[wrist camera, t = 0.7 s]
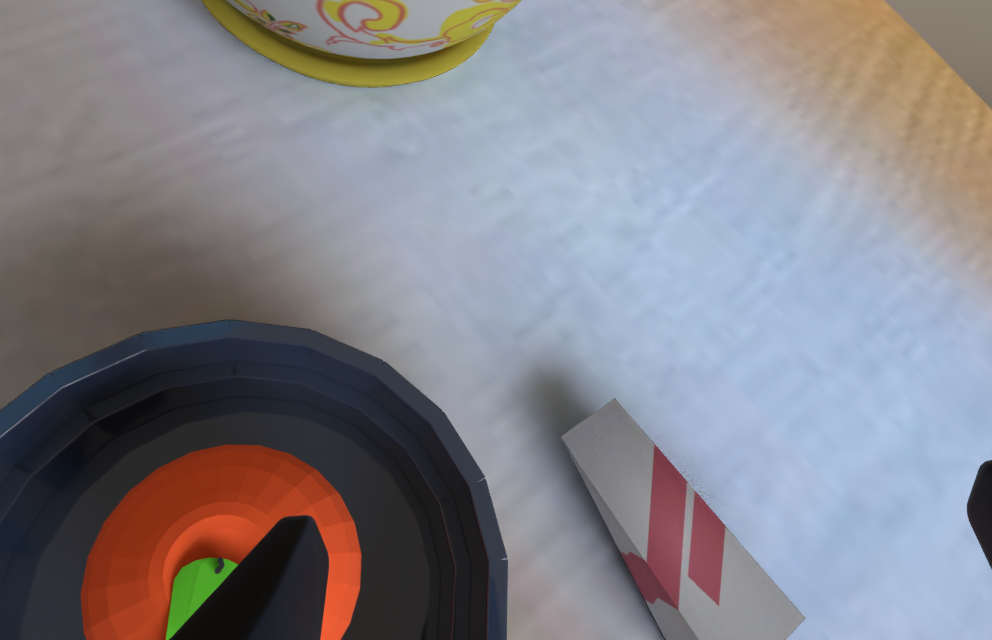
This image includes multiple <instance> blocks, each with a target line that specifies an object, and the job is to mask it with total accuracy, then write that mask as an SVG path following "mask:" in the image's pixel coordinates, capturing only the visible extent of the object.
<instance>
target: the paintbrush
mask: <svg viewBox="0 0 992 640" xmlns="http://www.w3.org/2000/svg"><path fill="white" fill-rule="evenodd" d="M561 438H562V440H563V442H564V444H565V446H566V448H567V450H568V452H569V454H570V455H571V457H572V459H573V461H574V463H575V465H576V467H577V469H578V471H579V473H580V475H581V477H582V479H583V481H584V483H585V485H586V487H587V488H588V490H589V492H590V494H591V496H592V498H593V500H594V502H595V504H596V506H597V508H598V510H599V512H600V514H601V516H602V518H603V519H604V521H605V523H606V525H607V527H608V529H609V531H610V533H611V535H612V537H613V539H614V541H615V543H616V545H617V547H618V549H619V551H620V552H621V554H622V556H623V558H624V560H625V562H626V564H627V566H628V568H629V570H630V572H631V574H632V576H633V578H634V580H635V582H636V583H637V585H638V587H639V589H640V591H641V593H642V595H643V597H644V599H645V601H646V603H647V605H648V607H649V609H650V611H651V613H652V615H653V616H654V618H655V620H656V622H657V624H658V626H659V628H660V630H661V632H662V634H663V636H664V638H665V640H786V639H787V638H788V637H789V636H790V635H791V634H792V633H793V631H794V630H795V629H796V628H797V627H798V626H799V625H800V624H801V623H802V622H803V620H804V619H805V617H804V616H803V615H802V614H801V613H800V611H799V610H798V609H797V608H796V607H795V606H794V604H793V603H792V602H791V601H790V600H789V599H788V598H787V596H786V595H785V594H784V593H783V592H782V591H781V589H780V588H779V587H778V586H777V585H776V584H775V583H774V581H773V580H772V579H771V578H770V577H769V576H768V574H767V573H766V572H765V571H764V570H763V569H762V568H761V566H760V565H759V564H758V563H757V562H756V561H755V559H754V558H753V557H752V556H751V555H750V554H749V553H748V551H747V550H746V549H745V548H744V547H743V546H742V544H741V543H740V542H739V541H738V540H737V539H736V538H735V536H734V535H733V534H732V533H731V532H730V531H729V529H728V528H727V527H726V526H725V525H724V524H723V523H722V521H721V520H720V519H719V518H718V517H717V516H716V514H715V513H714V512H713V511H712V510H711V509H710V508H709V506H708V505H707V504H706V503H705V502H704V501H703V499H702V498H701V497H700V496H699V495H698V494H697V493H696V491H695V490H694V489H693V488H692V487H691V486H690V485H689V483H688V482H687V481H686V480H685V479H684V478H683V476H682V475H681V474H680V473H679V472H678V471H677V470H676V468H675V467H674V466H673V465H672V464H671V463H670V461H669V460H668V459H667V458H666V457H665V456H664V455H663V453H662V452H661V451H660V450H659V449H658V448H657V446H656V445H655V444H654V443H653V442H652V441H651V440H650V438H649V437H648V436H647V435H646V434H645V433H644V431H643V430H642V429H641V428H640V427H639V426H638V425H637V423H636V422H635V421H634V420H633V419H632V418H631V416H630V415H629V414H628V413H627V412H626V411H625V410H624V408H623V407H622V406H621V405H620V404H619V403H618V401H617V400H616V399H615V398H614V399H613V400H612V401H610V402H609V403H607V404H606V405H605V406H603V407H602V408H600V409H599V410H598V411H596V412H595V413H593V414H592V415H591V416H589V417H588V418H586V419H585V420H583V421H582V422H581V423H579V424H578V425H576V426H575V427H574V428H572V429H571V430H569V431H568V432H567V433H565V434H564V435H562V436H561Z"/></svg>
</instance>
